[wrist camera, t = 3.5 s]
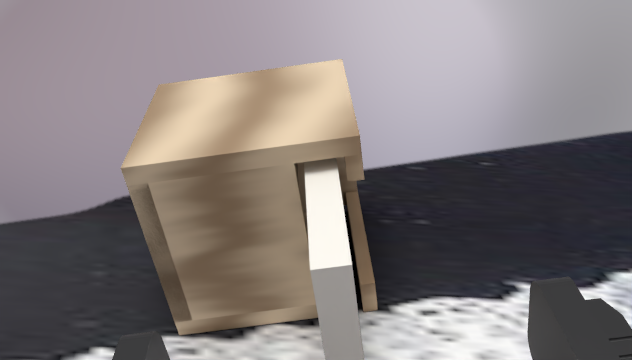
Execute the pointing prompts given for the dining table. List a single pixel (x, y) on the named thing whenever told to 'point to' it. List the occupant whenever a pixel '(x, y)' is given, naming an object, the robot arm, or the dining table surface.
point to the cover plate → (331, 262)
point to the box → (243, 192)
